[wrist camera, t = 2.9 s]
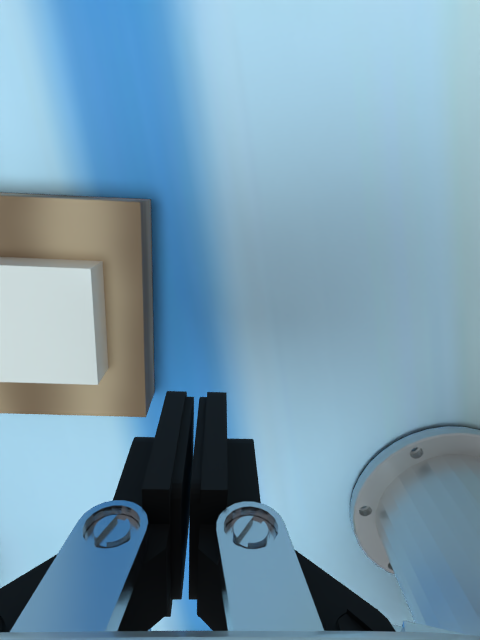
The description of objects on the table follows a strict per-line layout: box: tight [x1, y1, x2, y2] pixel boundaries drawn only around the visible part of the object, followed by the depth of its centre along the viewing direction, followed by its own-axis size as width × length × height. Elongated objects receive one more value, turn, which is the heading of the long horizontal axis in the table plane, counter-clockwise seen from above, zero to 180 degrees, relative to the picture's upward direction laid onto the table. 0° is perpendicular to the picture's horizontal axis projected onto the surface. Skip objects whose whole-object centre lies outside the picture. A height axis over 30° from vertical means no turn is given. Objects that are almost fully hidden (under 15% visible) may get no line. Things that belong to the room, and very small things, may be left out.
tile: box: [0, 257, 108, 385], centre depth 22 cm, size 8×6×2 cm
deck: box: [0, 192, 154, 417], centre depth 24 cm, size 12×12×3 cm
